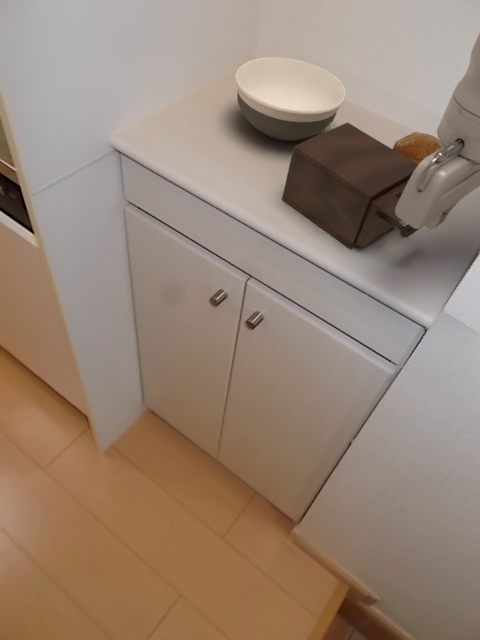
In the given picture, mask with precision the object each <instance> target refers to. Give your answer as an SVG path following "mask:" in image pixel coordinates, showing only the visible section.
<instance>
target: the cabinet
mask: <svg viewBox="0 0 480 640" xmlns="http://www.w3.org/2000/svg"><path fill="white" fill-rule="evenodd" d="M417 166H418V164H416V163H414V162H413V161H411V160H409V159H408V158H406V157H404V156H403V155H401V154H399V153H398V152H396V151H394V150H393V148H391V147H389V146H388V145H386V144H385V143H383V142H382V141H379V140H378V139H376V138H375V137H373V136H371V135H369V134H368V133H366V132H365V131H363V130H361V129H359V128H358V127H356V126H354V125H353V124H351V123H350V122H345V123H343V124H340V125H338V126H335V127H334V128H332V129H329V130H327V131H325V132H323V133H322V132H321V133H319V134H317V135H315V136H312V137H310V138H309V139H307V140H305V141H302V142H300V143H298V144H296V145H294V146H293V148H292V154H291V158H290V162H289V166H288V170H287V175H286V179H285V184H284V188H283V193H282V197H281V200H282V202H285V203H286V204H287V205H288V206H290V207H291V208H292V209H294V210H296V211H297V212H298V213H299V214H301V215H303V217H305V218H306V219H308V220H310V221H311V222H312V223H313V224H315V225H316V226H318V227H319V228H320V229H322V230H323V231H324V232H326V233H327V234H328V235H330V236H332V237H333V238H334V239H335V240H337V241H338V242H340V243H341V244H342V245H344V246H345V247H347V248H348V249H350V250H351V249H353V248H355V247H356V246H358V245H357V244H356V243H355V242H356V240H357V237H358V235H359V232H360V229H361V227H362V224H363V222H364V219H365V217H366V214H367V212H368V209H369V206H370V204H371V201H372V199H374V198H376V197H377V196H379V195H381V194H382V193H384V192H386V191H387V190H389V189H391V188H392V187H394V186H396V185H398V184H399V183H401V182H402V183H403V182H404V181H406V180H408V179H409V178H410V177H411V175H412V174H413V172H414V170H415V169H416V167H417Z"/></svg>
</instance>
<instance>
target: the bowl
mask: <svg viewBox="0 0 480 640" xmlns="http://www.w3.org/2000/svg"><path fill="white" fill-rule="evenodd" d="M234 81H235V85H236V89H237V94H236V95H237V96H236V97H237V103H238V106H239V109H240V111H241V113H242V116H243V117H244V118H245V119H246V120H247V121H248V123H250V124H251V126H253V127H254V128H255V129H257V130H258V131H260V132H261V133H262V134H263V135H265V136H266V137H268V138H270V139H272V140H275V141H279V142H295V141H299V140H303V139H307V138H312V137H314V136H317V135H319V134H321V133H322V132H323V131H325V130H326V128H328V127H329V126H330V124H331V123H332V122H334V119H335V118H336V115H337V113H338V111H339V109H340V107H342V105H343V104H344V103H345V101H346V98H347V92H346V88H345V86H344V84H343V83H342V82H341V80H340V79H339V78H338V77H337V76H336V75H334V74H333V73H331V72H330V71H328V70H327V69H324V68H323V67H320V66H318V65H316V64H313V63H311V62H306V61H303V60H300V59H294V58H290V57H289V58H288V57H280V56H278V57H272V56H270V57H269V56H268V57H259V58H254V59H252V60H249V61H246V62H245V63H243V64H242V65H240V66H239V67H238V68H237V70H236V71H235V75H234Z"/></svg>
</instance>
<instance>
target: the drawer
mask: <svg viewBox="0 0 480 640" xmlns="http://www.w3.org/2000/svg"><path fill="white" fill-rule="evenodd" d="M409 179H410V178H409ZM409 179H408V180H406V181H404V182H403V183H402V182H401V183H399V184H398V185H396V186H394V187H392V188H391V189H389V191H388V192H386V193H384V194H383V195H381V196H379V197H377V198H376V199H374V200H372V201H371V204H370V206H369V209H368V212H367V214H366V217H365V219H364V222H363V224H362V227H361V229H360V232H359V235H358V237H357V240H356V242H355V243H356V244H357V245H356V246H359V247H360V248H363V247H365V246H366V245H368V244H369V243H370V242H373V241H374V240H375V239H376V238H378V237H380V236H381V235H383V234H385V233H386V232H387V231H389V230H391V229H392V228H393V227H394V228H395V229H396V230H398V231H399V234H400V236H401V237H402V238H403V239H408V238H409V237H410V236H412V235H413V234H415V233H416V232H417V231H419V230H420V229H422V228H423V227H421V228H419V229H415V228H413V227H411V226H410V225H408V224H406V225H404V224H402V223H401V222H403V221H402V220H400V219H399V218H398V217H397V216H396V214H395V208H396V205H397V203H398V201H399V199H400V197H401V195H402V193H403V191H404V189H405V187H406V185H407V183H408V181H409Z"/></svg>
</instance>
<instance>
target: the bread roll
mask: <svg viewBox="0 0 480 640" xmlns="http://www.w3.org/2000/svg"><path fill="white" fill-rule="evenodd" d="M442 144H443V143H442V142H441V141H440V139H439V138H438V137H436V136H434V135H431V134H428V133H424V132H419V131H414V132H413V133H411V134H408V135H406V136H404V137H402V138H400V139H398V140H397V141H395V142H394V145H393V148H392V149H393V150H394V151H396V152H398V153H399V154H401V155H403V156H404V157H406V158H408V159H409V160H411V161H413V162H414V163H416V164H418V165H419V163H420V162H421V161H422V160H424V159H425V158H426V157H428V156H429V155H431V154H433V153H434V152H436V151H438V150H439V149H441V148H442Z"/></svg>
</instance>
